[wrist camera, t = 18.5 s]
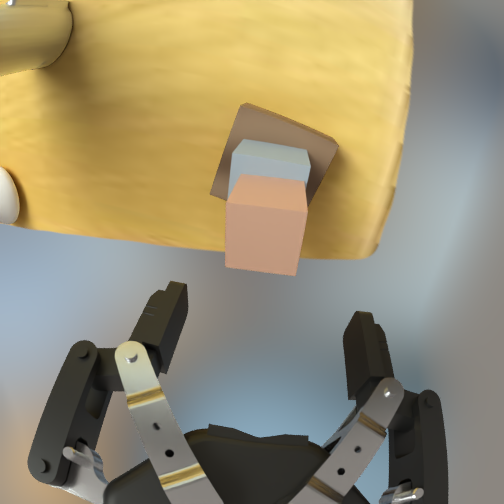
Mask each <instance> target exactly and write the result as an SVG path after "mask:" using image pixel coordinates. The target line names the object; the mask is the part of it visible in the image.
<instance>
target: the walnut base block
mask: <svg viewBox="0 0 504 504" xmlns="http://www.w3.org/2000/svg"><path fill="white" fill-rule="evenodd" d="M243 139H247V140H254V141H261V142H267V143H273V144H279V145H284V146H290V147H295V148H300V149H305V150H307V153H308V157H309V161H310V165H311V168H310V173H309V177H308V181H307V186H306V190H305V192H306V200H307V208H308V206H309V204H310V202H311V200H312V198H313V196H314V194H315V192H316V190H317V188H318V186H319V185H320V183H321V181H322V179H323V177H324V175H325V173H326V171H327V169H328V167H329V165H330V163H331V161H332V159H333V157H334V155H335V153H336V151H337V149H338V147H339V145H338V144H337V143H336V141H335V140H334V139H333V138H332V137H330V136H328V135H325V134H323V133H321V132H319V131H317V130H315V129H312V128H310V127H308V126H306V125H303V124H301V123H299V122H296V121H294V120H291V119H289V118H286V117H284V116H281V115H279V114H276V113H274V112H271V111H268V110H266V109H263V108H260V107H258V106H255V105H252V104H249V103H245V104H242V105H240V108H239V110H238V113H237V116H236V118H235V121H234V124H233V127H232V129H231V132H230V135H229V138H228V141H227V144H226V146H225V149H224V152H223V155H222V158H221V161H220V164H219V167H218V170H217V173H216V176H215V179H214V182H213V185H212V189H211V192H210V195H213V196H216V197H218V198H221V199H224V200H226V201H227V199H228V189H229V179H230V169H231V160H232V153H233V151H234V150H235V149H236V148H237V146H238V145H239V144H240V143H241V141H242V140H243Z"/></svg>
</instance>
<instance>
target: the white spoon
mask: <svg viewBox="0 0 504 504" xmlns="http://www.w3.org/2000/svg"><path fill="white" fill-rule="evenodd" d="M19 210H20V203H19V197H18V193H17V189H16V187H15V184H14V182H13V180H12V178H11V176H10V175H9V173H8V172H7V171H6V170H5V169H4V168H2V167H0V222H1V223H4V224H12V223H14V222H15V221H16V220H17V218H18V215H19Z"/></svg>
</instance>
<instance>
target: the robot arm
mask: <svg viewBox="0 0 504 504" xmlns="http://www.w3.org/2000/svg"><path fill="white" fill-rule="evenodd" d="M68 2H69V1H66V0H10V1H8V2H7V3H6V4H0V76H4V75H8V74H12V73H16V72H21V71H26V70H33V69H37V68H42V67H46V66H49V65H50V64H52V63H53V62H54V61H55V60H56V59H57V58H58V57H59V56H60V55H61V53H62V52H63V50H64V48H65V47H66V45H67V42H68V40H69V37H70V34H71V30H72V15H71V12H70V10H69V9H68ZM187 313H188V293H187V284H184V283H179V282H174V281H170V283H169V284H168V286H167V289H166V291H163V290H158V291H156V292H155V293H154V294H153V295H152V296H151V297H150V299H149V300H148V303H147V304H146V307H145V308H144V310H143V313H142V314H141V316H140V318H139V320H138V322H137V325H136V326H135V328H134V330H133V332H132V335H131V337H130V339H129V340H128V341H127V342H125V343H122V344H121V345H120V346H119V347H117V348H96V346H95V345H94V344H93V343H92V342H90V341H86V340H83V341H79V342H77V343H75V344H74V345H73V346H72V348H71V349H70V351H69V353H68V355H67V357H66V360H65V362H64V364H63V366H62V368H61V370H60V373H59V375H58V377H57V380H56V382H55V384H54V386H53V389H52V391H51V394H50V396H49V399H48V401H47V403H46V406H45V409H44V412H43V414H42V417H41V419H40V423H39V425H38V428H37V431H36V434H35V438H34V440H33V443H32V446H31V450H30V453H29V457H28V468H29V471H30V473H31V474H32V476H33V477H34V478H35V479H37V480H38V481H40V482H42V483H46V484H49V485H50V486H53V487H56V488H60V489H64V490H66V491H68V492H70V493H72V494H75V495H77V496H78V497H81V498H83V499H85V500H87V501H90V502H92V503H94V504H370V503H369V502H368V501H367V499H366V498H365V497H364V496H363V495H362V494H361V493H360V491H359V490H358V489H357V488H356V486H355V485H354V483H355V482H356V481H357V479H358V478H359V477H360V475H361V474H362V473H363V471H364V470H365V468H366V467H367V465H368V464H369V463H370V461H371V460H372V458H373V457H374V455H375V454H376V452H377V451H378V449H379V447H380V446H381V444H382V443H383V441H384V439H385V437H386V435H387V433H386V432H385V430H386V428H388V432H389V486H388V489H387V490H386V491H385V492H384V493H383V495H382V496H381V498H380V500H379V504H448V462H447V449H446V438H445V429H444V421H443V414H442V408H441V402H440V399H439V396H438V395H437V394H436V393H435V392H434V391H432V390H424V391H423V392H421V393H420V394H417V393H413V392H410V391H407V390H404V388H403V386H402V385H401V383H400V382H399V381H398V380H396V379H395V378H394V374H393V369H392V363H391V359H390V354H389V351H388V345H387V343H386V342H387V341H386V336H385V333H384V331H383V330H382V328H381V326H380V325H379V324H375V323H374V319H373V315H372V313H370V312H361V311H356V312H355V313H354V315H353V317H352V319H351V321H350V323H349V324H348V326H347V328H346V329H345V332H344V335H343V347H344V355H345V366H346V377H347V389H348V400H356V406H355V407H354V408H353V410H352V411H351V412H350V414H349V415H348V417H347V418H346V419H345V420H344V422H343V423H342V424H341V426H340V427H339V428H338V429H337V431H336V432H335V433H334V434H333V435H332V437H331V438H329V439H328V440H327V442H326V443H324V445H323V446H322V447H320V446H319V445H317V444H315V443H313V442H310V441H308V436H303V435H302V436H301V435H287V434H284V435H277V436H271V437H262V438H259V437H255V436H252V435H250V434H247V433H244V432H242V431H239V430H237V429H234V428H228V427H223V426H218V425H212V424H209V427H208V429H198V430H194V431H190V432H188V433H185V434H183V433H182V431H181V429H180V428H179V426H178V423H177V422H176V419H175V417H174V415H173V413H172V411H171V409H170V407H169V404H168V402H167V400H166V398H165V396H164V393H163V391H162V389H161V387H160V384H159V382H158V380H157V379H158V376H159V373H160V372H161V373H165V374H167V371H168V368H169V365H170V362H171V359H172V357H173V354H174V351H175V348H176V345H177V342H178V340H179V336H180V334H181V331H182V329H183V326H184V323H185V320H186V317H187ZM113 391H125V393H126V396H127V404H128V407H129V410H130V413H131V416H132V418H133V421H134V424H135V426H136V429H137V431H138V434H139V436H140V439H141V441H142V443H143V446H144V448H145V450H146V452H147V455H148V457H149V458H148V459H147V460H145V461H143V462H142V463H140V464H138V465H137V466H135V467H134V468H132V469H130V470H129V471H127V472H126V473H124V474H122V475H121V476H119V477H117V478H115V479H114V480H112V481H111V482H110V483H109V482H108V481H107V480H106V479H105V477H104V474H103V462H102V459H101V457H100V455H99V454H98V453H97V452H96V451H95V448H96V445H97V441H98V437H99V434H100V431H101V427H102V424H103V421H104V417H105V414H106V411H107V407H108V405H109V402H110V399H111V395H112V393H113Z"/></svg>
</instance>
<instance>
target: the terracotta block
mask: <svg viewBox="0 0 504 504" xmlns="http://www.w3.org/2000/svg"><path fill="white" fill-rule="evenodd" d="M307 214H308V209H307V200H306V192H305V183H304V181H299V180H292V179H284V178H276V177H267V176H258V175H248V174H241V175H240V177H239V178H238V180H237V182H236V184H235V186H234V188H233V190H232V192H231V194H230V196H229V198H228V200H227V202H226V230H225V267H229V268H236V269H244V270H251V271H259V272H268V273H274V274H283V275H290V276H296V271H297V266H298V261H299V257H300V251H301V246H302V241H303V236H304V231H305V225H306V220H307Z"/></svg>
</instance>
